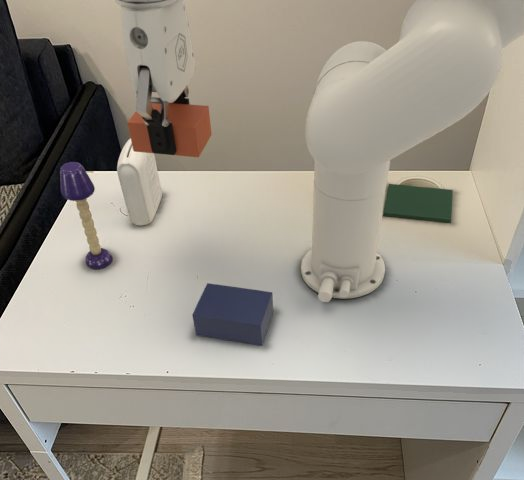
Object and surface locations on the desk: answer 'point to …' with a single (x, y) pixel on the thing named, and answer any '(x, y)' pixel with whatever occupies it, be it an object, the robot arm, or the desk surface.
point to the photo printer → (139, 184)
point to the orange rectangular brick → (176, 129)
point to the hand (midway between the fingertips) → (172, 138)
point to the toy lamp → (84, 210)
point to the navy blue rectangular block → (233, 314)
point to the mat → (418, 203)
